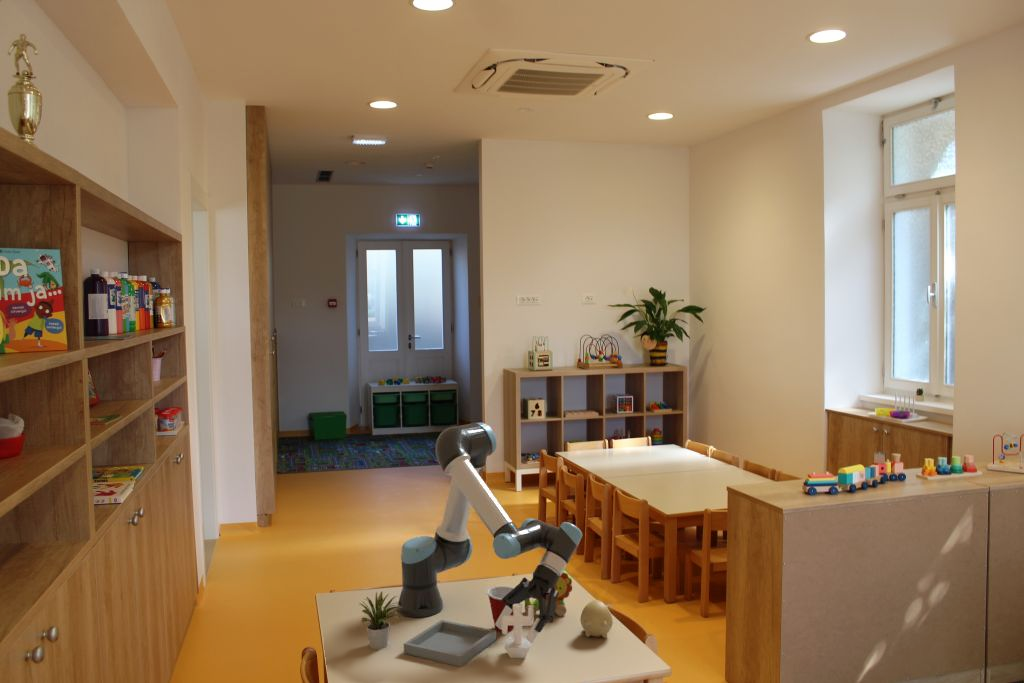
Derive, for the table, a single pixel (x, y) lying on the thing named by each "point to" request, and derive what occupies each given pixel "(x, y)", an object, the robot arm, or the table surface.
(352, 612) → the table surface
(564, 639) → the table surface
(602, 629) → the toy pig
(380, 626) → the house plant
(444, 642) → the tray
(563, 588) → the toy lion
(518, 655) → the figurine
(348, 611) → the table surface
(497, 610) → the plastic cup
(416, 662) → the table surface
